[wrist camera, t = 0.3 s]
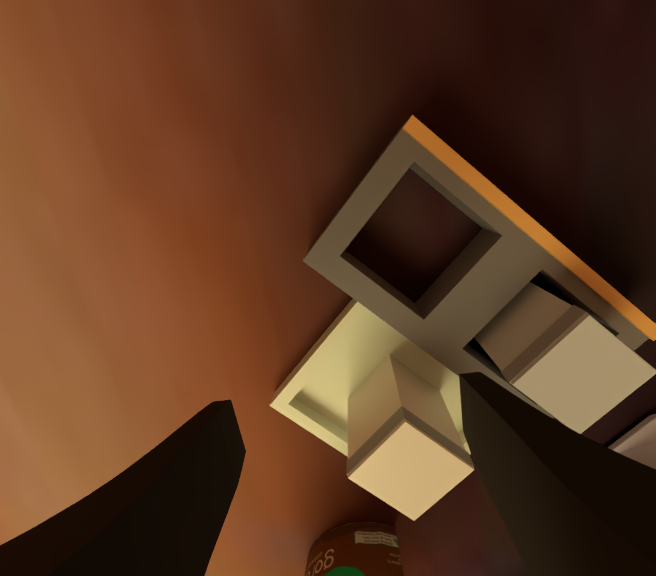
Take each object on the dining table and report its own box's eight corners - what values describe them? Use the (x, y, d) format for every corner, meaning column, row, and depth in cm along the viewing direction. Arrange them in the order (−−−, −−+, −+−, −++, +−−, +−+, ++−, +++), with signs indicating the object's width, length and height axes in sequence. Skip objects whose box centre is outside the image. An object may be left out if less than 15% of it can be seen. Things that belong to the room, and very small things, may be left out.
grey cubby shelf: (620, 310, 19) (664, 331, 17) (514, 405, 21) (538, 436, 19) (402, 125, 17) (412, 114, 14) (308, 250, 19) (301, 262, 17)
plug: (440, 390, 21) (476, 469, 15) (396, 433, 22) (414, 522, 16) (389, 353, 20) (405, 420, 15) (346, 398, 22) (346, 478, 16)
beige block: (568, 316, 20) (659, 371, 14) (514, 365, 21) (578, 436, 15) (516, 273, 19) (589, 313, 13) (464, 326, 20) (510, 384, 14)
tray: (515, 390, 21) (527, 404, 20) (411, 483, 24) (415, 501, 22) (368, 278, 20) (370, 286, 18) (274, 392, 22) (269, 405, 21)
